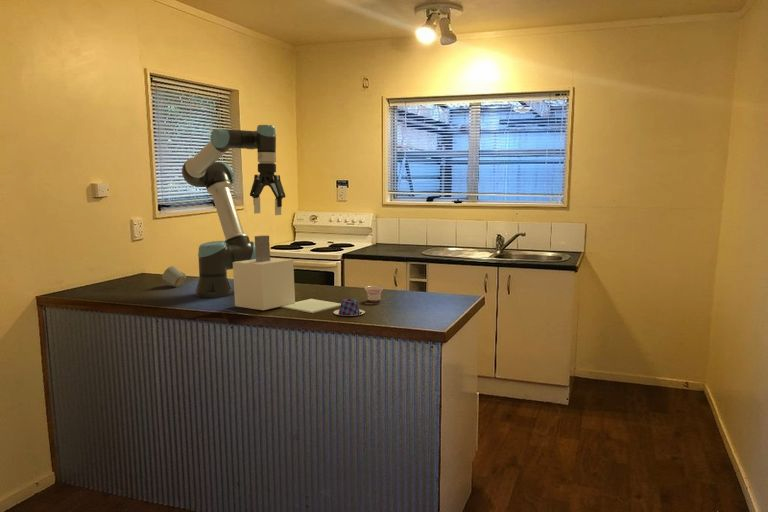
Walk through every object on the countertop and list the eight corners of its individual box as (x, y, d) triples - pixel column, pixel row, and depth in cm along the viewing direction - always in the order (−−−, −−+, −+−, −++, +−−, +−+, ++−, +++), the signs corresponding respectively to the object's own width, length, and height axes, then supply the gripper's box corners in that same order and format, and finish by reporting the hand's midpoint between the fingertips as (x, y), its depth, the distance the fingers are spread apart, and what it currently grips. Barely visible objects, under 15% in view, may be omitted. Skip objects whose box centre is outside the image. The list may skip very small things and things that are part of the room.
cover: (235, 306, 238) (231, 237, 235) (267, 299, 252) (263, 234, 249) (263, 310, 228) (259, 238, 225) (295, 303, 241) (292, 234, 238)
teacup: (355, 300, 250) (355, 286, 250) (381, 298, 255) (381, 284, 254) (366, 306, 240) (366, 291, 239) (393, 303, 244) (393, 288, 244)
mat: (279, 307, 236) (279, 305, 236) (311, 300, 251) (311, 298, 251) (312, 313, 226) (312, 311, 226) (343, 305, 240) (343, 304, 240)
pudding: (370, 315, 224) (370, 301, 223) (342, 318, 218) (342, 304, 217) (355, 309, 234) (355, 296, 234) (328, 312, 228) (328, 299, 228)
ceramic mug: (174, 291, 280) (176, 279, 275) (160, 281, 281) (162, 270, 276) (189, 280, 288) (192, 268, 283) (176, 270, 289) (179, 259, 285)
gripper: (240, 162, 252) (241, 213, 255) (279, 162, 236) (280, 216, 239) (255, 163, 258) (256, 212, 261) (293, 163, 242) (294, 215, 245)
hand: (267, 214), depth 250 cm, fingers open, 13 cm apart
